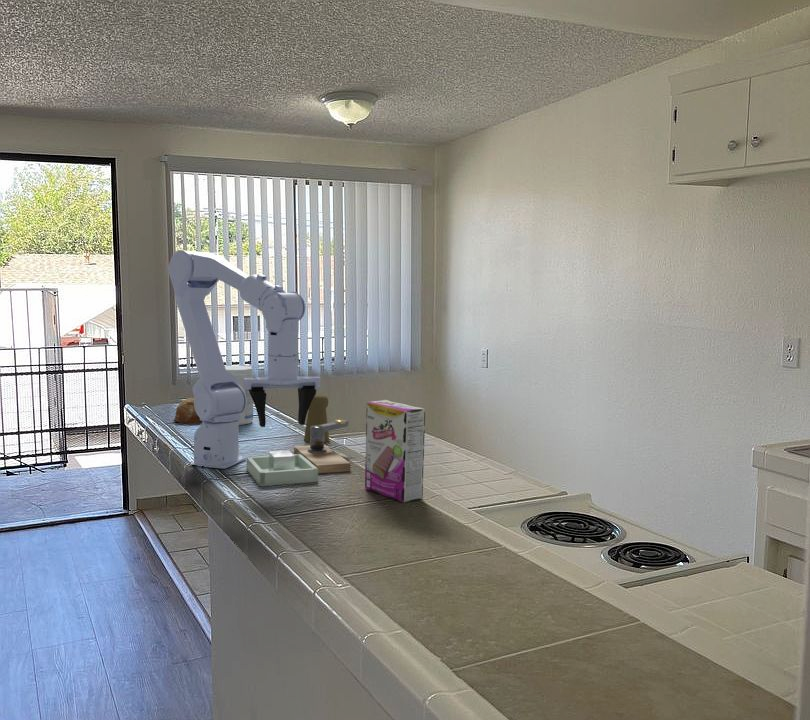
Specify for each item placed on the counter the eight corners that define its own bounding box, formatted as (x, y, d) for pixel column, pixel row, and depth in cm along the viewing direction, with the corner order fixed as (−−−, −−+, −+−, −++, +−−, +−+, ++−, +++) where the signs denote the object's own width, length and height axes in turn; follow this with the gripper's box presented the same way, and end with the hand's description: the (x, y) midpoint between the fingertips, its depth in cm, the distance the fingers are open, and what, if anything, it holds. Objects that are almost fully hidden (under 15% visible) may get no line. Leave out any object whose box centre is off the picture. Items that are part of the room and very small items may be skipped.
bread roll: (178, 431, 205) (165, 405, 203) (213, 413, 208) (200, 387, 206) (184, 438, 196) (171, 411, 194) (221, 419, 200) (207, 393, 197)
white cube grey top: (268, 470, 149) (268, 451, 148) (288, 469, 150) (288, 450, 150) (273, 476, 144) (274, 457, 144) (294, 475, 146) (294, 456, 145)
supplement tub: (242, 418, 206) (243, 364, 205) (259, 424, 199) (260, 368, 197) (209, 421, 200) (209, 366, 199) (225, 427, 193) (226, 370, 191)
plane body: (293, 453, 166) (293, 445, 166) (324, 451, 169) (324, 443, 169) (316, 473, 150) (316, 463, 149) (350, 470, 152) (350, 461, 152)
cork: (324, 443, 177) (325, 397, 176) (300, 441, 178) (301, 395, 177) (332, 438, 183) (333, 393, 182) (308, 436, 184) (309, 392, 183)
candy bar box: (362, 489, 139) (365, 401, 137) (383, 485, 142) (386, 399, 141) (402, 504, 131) (405, 410, 129) (424, 499, 134) (427, 407, 132)
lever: (318, 450, 160) (318, 427, 159) (307, 448, 161) (307, 426, 161) (350, 441, 169) (350, 420, 169) (339, 439, 171) (339, 418, 171)
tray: (246, 469, 151) (246, 457, 151) (300, 465, 155) (300, 453, 155) (260, 486, 139) (260, 473, 139) (318, 481, 143) (318, 468, 143)
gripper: (249, 357, 138) (248, 430, 140) (325, 356, 144) (324, 427, 145) (241, 353, 145) (241, 423, 146) (315, 353, 151) (314, 420, 152)
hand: (282, 425), depth 146 cm, fingers open, 7 cm apart
